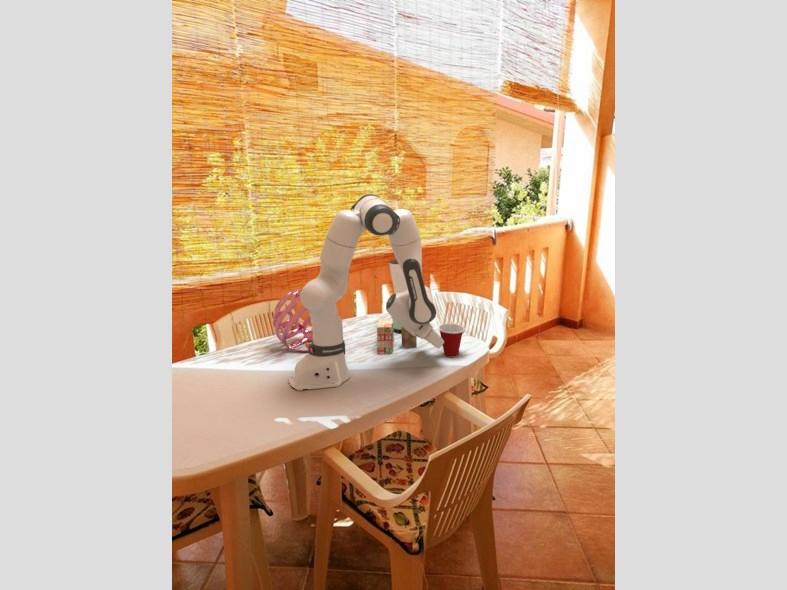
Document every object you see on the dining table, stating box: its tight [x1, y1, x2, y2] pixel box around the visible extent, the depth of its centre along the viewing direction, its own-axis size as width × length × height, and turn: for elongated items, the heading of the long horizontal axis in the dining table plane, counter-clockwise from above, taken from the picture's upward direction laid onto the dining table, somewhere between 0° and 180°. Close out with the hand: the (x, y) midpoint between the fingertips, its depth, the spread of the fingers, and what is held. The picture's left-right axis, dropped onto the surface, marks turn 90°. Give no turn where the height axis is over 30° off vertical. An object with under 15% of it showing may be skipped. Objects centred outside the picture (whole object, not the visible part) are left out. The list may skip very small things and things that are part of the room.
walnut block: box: [401, 326, 418, 350], centre depth 214 cm, size 5×5×9 cm
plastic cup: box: [437, 323, 466, 357], centre depth 202 cm, size 11×11×12 cm
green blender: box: [388, 258, 408, 334], centre depth 236 cm, size 19×13×35 cm
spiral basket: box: [272, 287, 313, 353], centre depth 215 cm, size 28×28×27 cm
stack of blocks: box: [376, 318, 395, 355], centre depth 216 cm, size 21×6×12 cm, turn 179°
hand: (440, 345), depth 200 cm, fingers closed
